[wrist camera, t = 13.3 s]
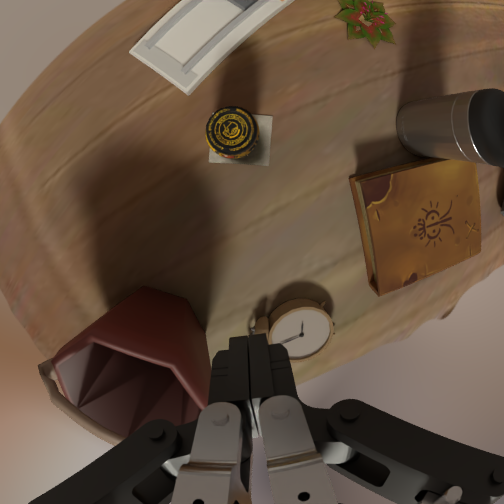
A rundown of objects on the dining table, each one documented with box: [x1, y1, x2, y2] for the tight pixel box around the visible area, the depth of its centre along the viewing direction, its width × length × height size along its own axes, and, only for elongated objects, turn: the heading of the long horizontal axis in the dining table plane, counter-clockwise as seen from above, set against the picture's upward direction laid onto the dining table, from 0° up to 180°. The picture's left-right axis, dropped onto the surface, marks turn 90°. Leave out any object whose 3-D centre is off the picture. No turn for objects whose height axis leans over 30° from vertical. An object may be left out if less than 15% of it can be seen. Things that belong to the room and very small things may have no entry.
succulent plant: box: [334, 0, 396, 49], centre depth 30 cm, size 12×12×5 cm
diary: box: [349, 157, 481, 297], centre depth 41 cm, size 23×19×6 cm
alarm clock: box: [248, 298, 335, 362], centre depth 47 cm, size 11×5×15 cm
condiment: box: [205, 106, 273, 166], centre depth 33 cm, size 7×8×12 cm
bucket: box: [38, 286, 211, 446], centre depth 36 cm, size 24×22×25 cm
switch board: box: [129, 0, 295, 96], centre depth 30 cm, size 24×12×3 cm, turn 138°
